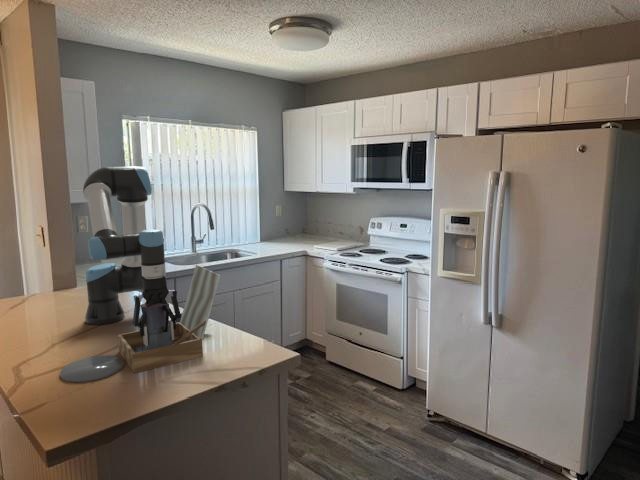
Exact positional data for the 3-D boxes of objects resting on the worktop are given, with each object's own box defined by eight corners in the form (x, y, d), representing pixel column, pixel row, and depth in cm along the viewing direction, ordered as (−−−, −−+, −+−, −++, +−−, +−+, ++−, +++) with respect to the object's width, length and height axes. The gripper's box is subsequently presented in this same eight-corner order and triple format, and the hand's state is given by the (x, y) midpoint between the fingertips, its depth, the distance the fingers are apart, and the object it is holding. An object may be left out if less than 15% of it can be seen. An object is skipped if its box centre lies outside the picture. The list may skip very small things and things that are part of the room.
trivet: (57, 367, 149) (57, 364, 149) (117, 353, 159) (117, 351, 159) (64, 388, 134) (63, 384, 134) (129, 371, 144) (129, 368, 144)
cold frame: (119, 351, 161) (112, 276, 157) (201, 332, 178) (197, 264, 174) (134, 373, 143) (127, 289, 139) (224, 350, 160) (220, 274, 156)
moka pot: (160, 344, 167) (156, 290, 164) (185, 354, 157) (182, 297, 154) (135, 352, 159) (130, 296, 156) (160, 363, 150) (156, 304, 147)
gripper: (123, 283, 145) (129, 352, 149) (188, 273, 157) (192, 338, 160) (118, 278, 151) (124, 345, 155) (181, 270, 163) (185, 332, 166)
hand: (159, 341), depth 157 cm, fingers closed on moka pot, 8 cm apart
